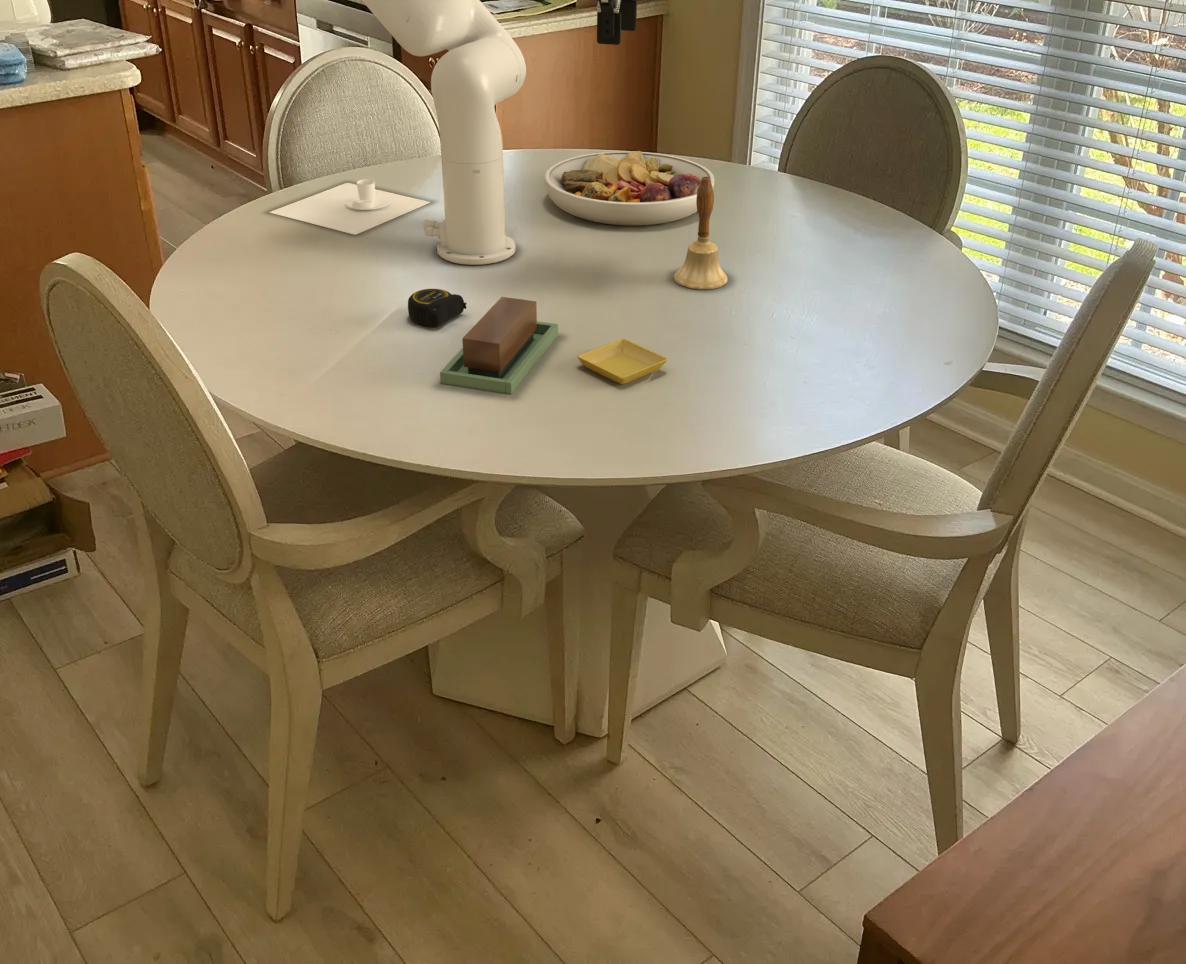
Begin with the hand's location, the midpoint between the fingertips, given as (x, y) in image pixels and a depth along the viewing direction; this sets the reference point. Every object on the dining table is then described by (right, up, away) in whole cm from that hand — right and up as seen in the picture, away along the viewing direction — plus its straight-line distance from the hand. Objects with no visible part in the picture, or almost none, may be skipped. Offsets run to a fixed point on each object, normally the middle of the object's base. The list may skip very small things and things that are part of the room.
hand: (617, 36), depth 160 cm
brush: (-15, -45, -7) cm, 48 cm away
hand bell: (+13, -31, +18) cm, 38 cm away
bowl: (+3, -12, +48) cm, 49 cm away
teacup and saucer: (-46, -13, +44) cm, 65 cm away
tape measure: (-25, -39, +4) cm, 47 cm away
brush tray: (-15, -46, -7) cm, 49 cm away
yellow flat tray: (+1, -47, -9) cm, 48 cm away
